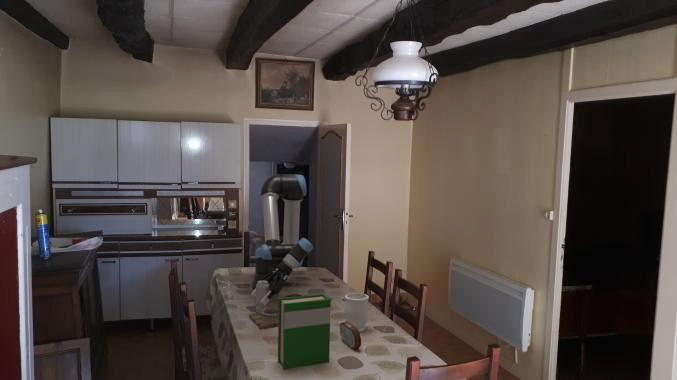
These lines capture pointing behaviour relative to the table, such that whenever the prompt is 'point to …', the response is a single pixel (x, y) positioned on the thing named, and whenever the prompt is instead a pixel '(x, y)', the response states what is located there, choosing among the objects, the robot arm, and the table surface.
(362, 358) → the table surface
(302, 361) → the hardback book
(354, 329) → the tin
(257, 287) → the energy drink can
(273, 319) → the mount
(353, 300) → the jar
